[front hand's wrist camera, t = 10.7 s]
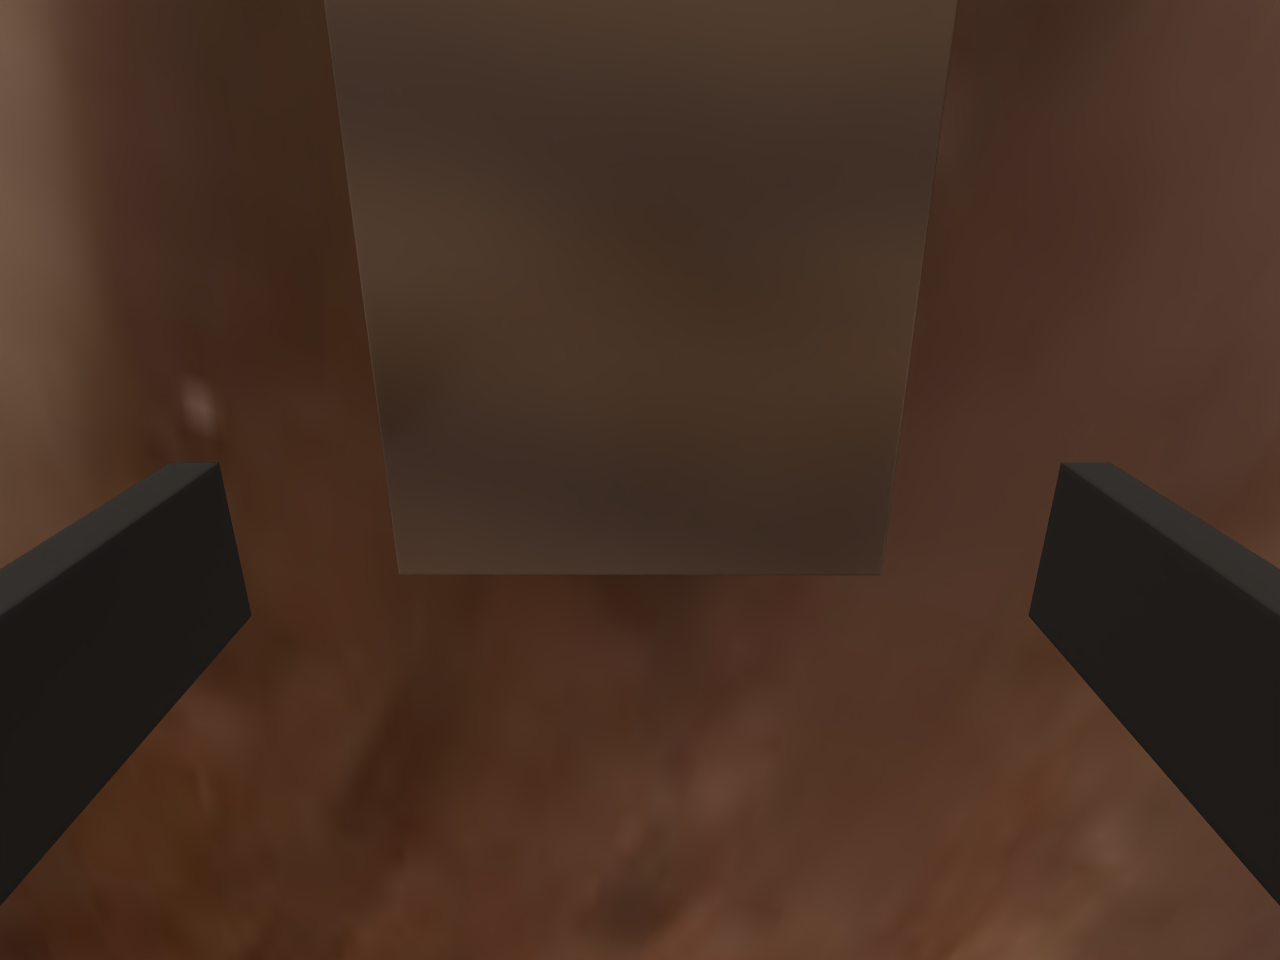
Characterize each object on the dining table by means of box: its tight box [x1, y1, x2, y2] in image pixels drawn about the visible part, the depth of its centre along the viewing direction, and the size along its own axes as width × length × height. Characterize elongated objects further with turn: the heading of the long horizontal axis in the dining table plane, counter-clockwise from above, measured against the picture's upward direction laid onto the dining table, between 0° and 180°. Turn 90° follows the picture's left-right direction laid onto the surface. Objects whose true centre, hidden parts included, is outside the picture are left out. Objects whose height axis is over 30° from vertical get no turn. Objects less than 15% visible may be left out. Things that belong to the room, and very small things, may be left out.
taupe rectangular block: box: [324, 0, 958, 575], centre depth 19 cm, size 18×11×10 cm, turn 0°
